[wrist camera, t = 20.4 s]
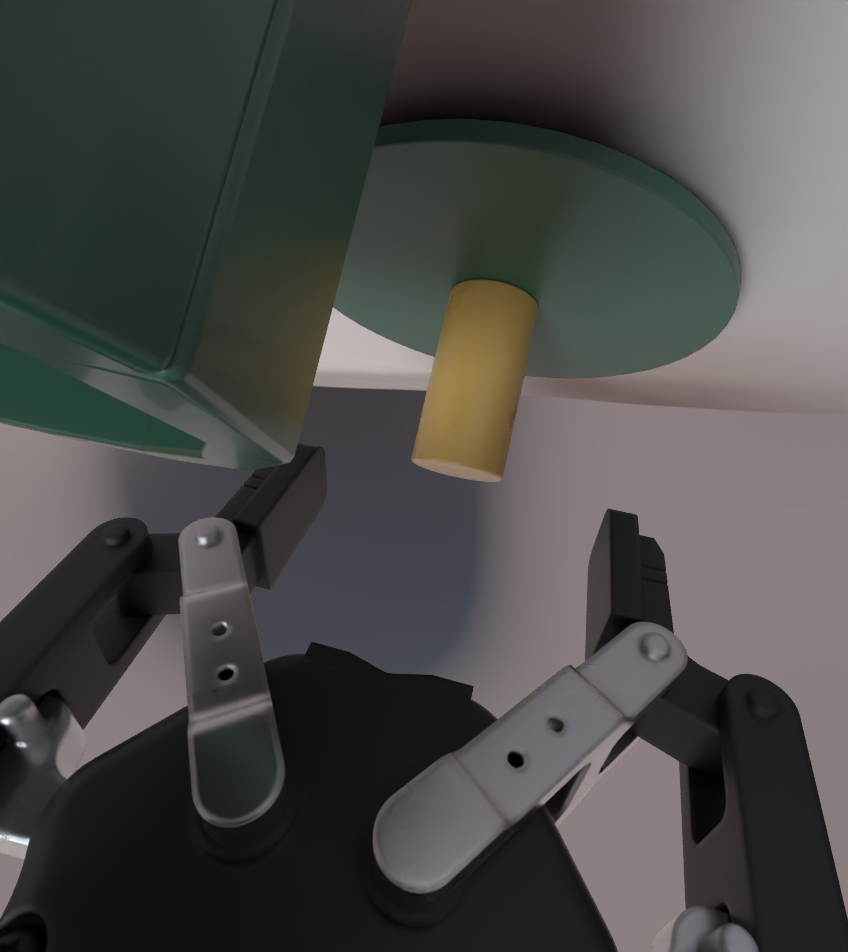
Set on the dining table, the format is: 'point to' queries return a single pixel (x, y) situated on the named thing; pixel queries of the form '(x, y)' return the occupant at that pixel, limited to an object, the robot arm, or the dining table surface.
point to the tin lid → (525, 271)
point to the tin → (180, 213)
